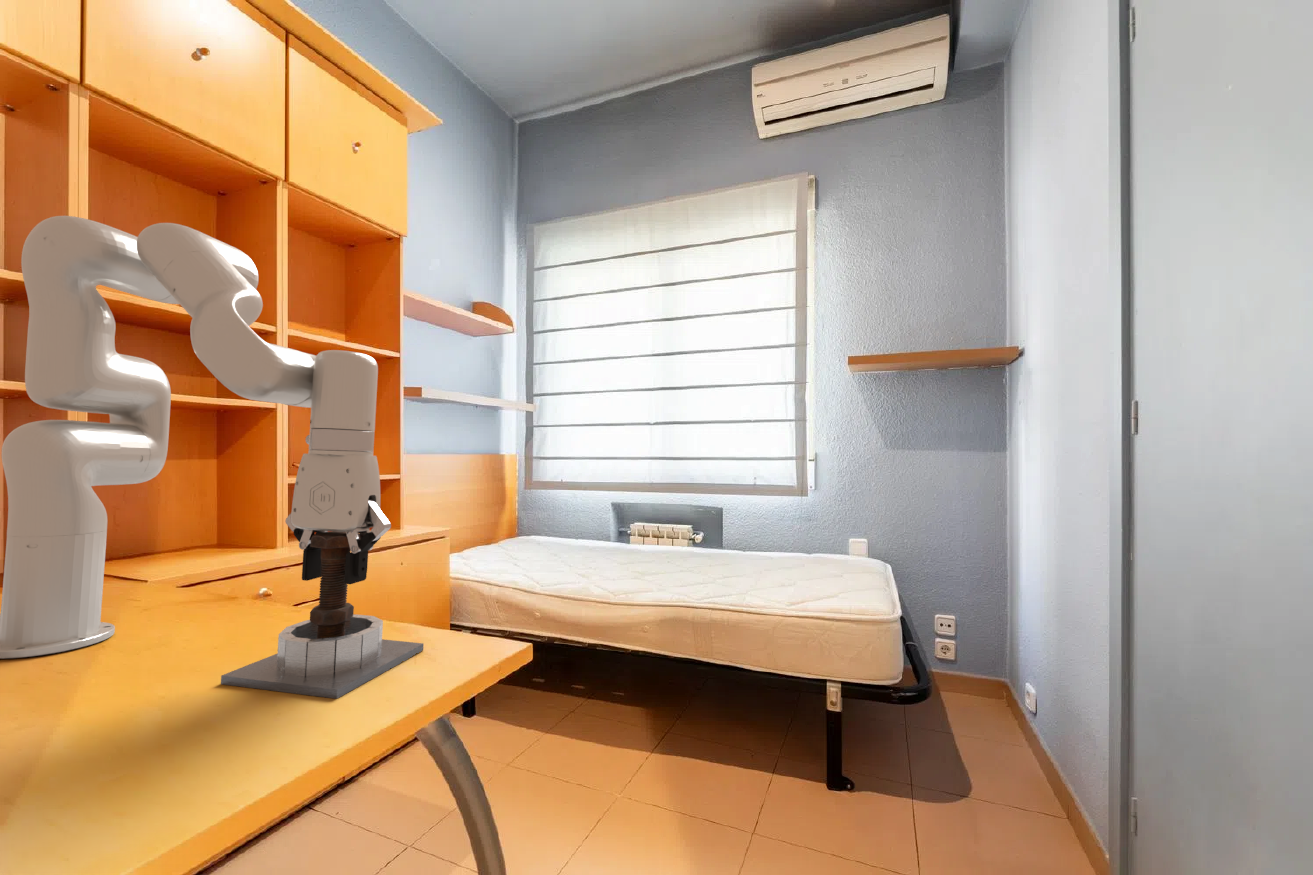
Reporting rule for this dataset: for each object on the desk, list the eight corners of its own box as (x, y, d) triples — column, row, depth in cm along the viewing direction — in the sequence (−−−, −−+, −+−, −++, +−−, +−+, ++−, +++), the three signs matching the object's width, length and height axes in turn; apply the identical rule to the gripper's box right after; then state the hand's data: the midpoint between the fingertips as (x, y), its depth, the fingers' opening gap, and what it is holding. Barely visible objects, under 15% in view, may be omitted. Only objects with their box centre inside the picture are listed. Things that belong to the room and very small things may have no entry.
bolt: (296, 650, 69) (303, 533, 70) (332, 638, 74) (339, 529, 74) (327, 657, 67) (334, 537, 67) (363, 645, 71) (369, 533, 72)
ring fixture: (220, 683, 64) (223, 641, 64) (326, 640, 79) (328, 606, 80) (336, 698, 61) (339, 654, 61) (423, 650, 76) (424, 615, 77)
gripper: (262, 441, 69) (253, 581, 69) (379, 444, 66) (371, 592, 65) (310, 443, 77) (302, 570, 76) (417, 446, 73) (410, 579, 73)
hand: (334, 578), depth 71 cm, fingers closed on bolt, 5 cm apart
